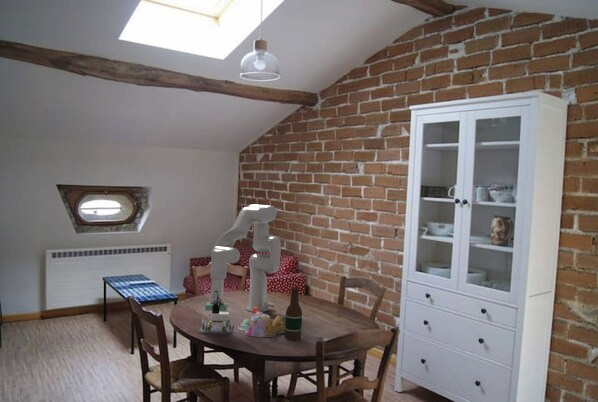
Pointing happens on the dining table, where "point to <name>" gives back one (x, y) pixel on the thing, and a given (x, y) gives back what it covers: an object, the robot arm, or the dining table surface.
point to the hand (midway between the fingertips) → (216, 311)
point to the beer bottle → (293, 317)
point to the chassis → (216, 326)
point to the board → (221, 308)
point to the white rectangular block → (220, 316)
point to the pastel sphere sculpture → (262, 325)
